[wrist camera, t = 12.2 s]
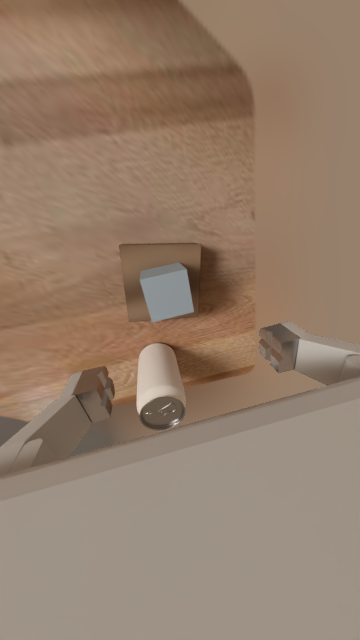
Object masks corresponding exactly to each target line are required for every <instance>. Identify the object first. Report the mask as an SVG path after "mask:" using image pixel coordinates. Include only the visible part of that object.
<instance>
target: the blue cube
mask: <svg viewBox="0 0 360 640" xmlns="http://www.w3.org/2000/svg"><path fill="white" fill-rule="evenodd" d="M140 283H141V286H142V290H143V293H144V297H145V300H146V304H147V307H148V310H149V314H150V317H151V321H152V322H156V321H160V320H164V319H168V318H172V317H176V316H180V315H184V314H188V313H192V312H194V309H193V303H192V297H191V291H190V285H189V280H188V274H187V269H186V268H185V267H184V266H183V265H181V264H180V263H179V262H178V263H174V264H170V265H165V266H161V267H156V268H152V269H148V270H143V271H141V273H140Z"/></svg>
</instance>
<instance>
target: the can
mask: <svg viewBox="0 0 360 640" xmlns="http://www.w3.org/2000/svg"><path fill="white" fill-rule="evenodd" d="M185 405H186V397H185V392H184V388H183V384H182V380H181V376H180V372H179V368H178V364H177V360H176V356H175V353H174V351H173V349H172V348H171V347H169V346H168V345H166V344H162V343H155V344H151V345H149V346H147V347H145V348H144V349H143V350H142V352H141V353H140V356H139V364H138V383H137V410H138V413H139V417H140V421H141V423H142V424H143V425H144V426H145V427H147V428H149V429H152V430H166V429H169V428H172V427H174V426H176V425H177V424H179V423H180V422H181V421H182V419H183V418H184V415H185Z"/></svg>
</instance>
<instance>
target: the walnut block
mask: <svg viewBox="0 0 360 640" xmlns="http://www.w3.org/2000/svg"><path fill="white" fill-rule="evenodd" d="M119 249H120V257H121V265H122V272H123V280H124V288H125V295H126V303H127V311H128V318H129V322H137V321H151V317H150V314H149V310H148V307H147V304H146V300H145V297H144V293H143V290H142V286H141V283H140V273H141V271H143V270H148V269H152V268H156V267H161V266H165V265H170V264H174V263H178V262H179V263H180V264H181V265H183V266H184V267H185V268H186V269H187V274H188V280H189V285H190V291H191V297H192V303H193V309H194V312H192V313H188V314H184V315H180V316H176V317H172V318H168V319H178V318H191V317H199V289H200V261H201V244H198V243H155V244H121V245H119Z"/></svg>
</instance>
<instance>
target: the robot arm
mask: <svg viewBox="0 0 360 640" xmlns="http://www.w3.org/2000/svg"><path fill="white" fill-rule="evenodd" d="M259 336H260V337H261V338H262V339H261V340H260V342H259V349H260V353H261V354H262V356H263V357H264V358H265V359H266V360H269V361H271V363H270V365H271V366H272V367H273V368H274V369H275V370H276V371H277V372H278V373H281V372H285V371H289V370H294V369H295V370H296V371H298V372H300V373H302V374H304V375H306V376H308V377H310V378H313V379H315V380H317V381H319V382H321V383H323V384H325V385H327V386H324V387H320V388H317V389H313V390H310V391H306V392H303V393H299V394H295V395H292V396H288V397H284V398H281V399H277V400H274V401H270V402H266V403H263V404H259V405H255V406H251V407H248V408H244V409H241V410H237V411H233V412H230V413H226V414H223V415H219V416H215V417H212V418H208V419H204V420H201V421H198V422H194V423H190V424H187V425H183V426H179V427H176V428H172V429H168V430H165V431H161V432H158V433H154V434H151V435H147V436H143V437H140V438H136V439H132V440H129V441H125V442H121V443H118V444H114V445H111V446H107V447H103V448H100V449H96V450H93V451H89V452H85V453H82V454H78V455H74V456H71V457H69V456H70V454H71V453H72V452H73V450H74V449H75V447H76V446H77V445H78V443H79V442H80V440H81V439H82V438H83V436H84V435H85V433H86V432H87V430H88V429H89V428H90V426H91V425H92V423H94V422H97V421H100V420H104V419H107V418H110V417H111V412H112V407H113V405H112V403H111V401H112V400H113V398H114V395H115V389H114V384H113V381H112V379H111V378H109V377H108V373H109V372H108V370H107V368H106V367H105V366H102V367H98V368H93V369H89V370H84V371H80V372H76V373H73V374H72V375H71V376H70V378H69V380H68V382H67V384H66V386H65V388H64V390H63V392H62V394H61V396H60V398H59V399H57V400H55V401H54V402H53V403H52V404H50V405H49V406H48V407H47V408H46V409H45V410H43V411H42V412H41V413H40V414H39V415H37V416H36V417H35V418H34V419H33V420H32V421H30V422H29V423H28V424H27V425H26V426H25V427H24V428H22V429H21V430H20V431H19V432H18V433H17V434H15V435H14V436H13V437H12V438H11V439H10V440H8V441H7V442H6V443H5V444H4V445H2V446H1V447H0V640H360V345H359V344H355V343H350V342H346V341H341V340H336V339H332V338H327V337H323V336H318V335H310V334H309V333H307V332H306V331H304V330H302V329H301V328H299V327H298V326H296V325H294V324H293V323H291V322H288V321H286V322H283V323H279V324H276V325H273V326H268V327H265V328H261V329H260V331H259Z"/></svg>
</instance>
